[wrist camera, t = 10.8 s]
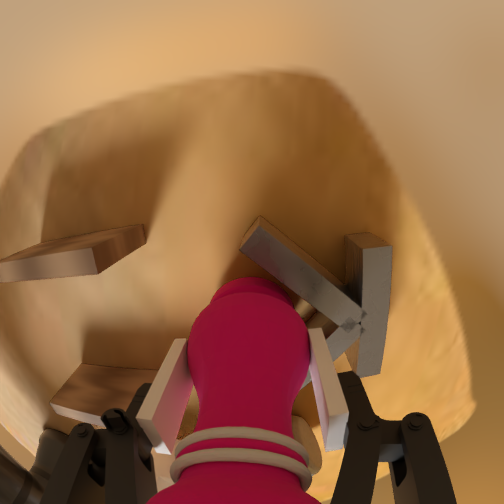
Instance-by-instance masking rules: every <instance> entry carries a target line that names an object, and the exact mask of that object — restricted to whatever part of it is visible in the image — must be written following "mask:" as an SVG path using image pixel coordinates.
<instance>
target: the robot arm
mask: <svg viewBox="0 0 504 504" xmlns="http://www.w3.org/2000/svg"><path fill="white" fill-rule="evenodd" d="M308 337H309V342H310V365H309V369H310V374H311V379H312V384H313V389H314V394H315V399H316V404H317V409H318V414H319V419H320V425H321V430H322V435H323V441H324V446H325V452H327V451H333V450H339V449H342V448H343V444H344V448H345V453H344V457H343V461H342V465H341V469H340V472H339V476H338V480H337V483H336V487H335V490H334V493H333V497H332V500H331V503H330V504H371V500H372V495H373V489H374V485H375V479H376V473H377V467H378V462H388V463H389V469H390V475H391V481H392V487H393V493H394V499H395V504H457V503H456V498H455V495H454V491H453V487H452V484H451V480H450V477H449V474H448V470H447V467H446V464H445V461H444V458H443V455H442V452H441V449H440V446H439V443H438V440H437V437H436V435H435V432H434V429H433V427H432V424H431V421H430V419H429V418H428V416H426V415H425V414H423V413H419V412H414V413H410V414H407V415H406V416H405V417H404V418H403V420H400V421H389V420H384V419H381V418H380V417H379V416H377V415H375V413H374V412H373V409H372V407H371V404H370V402H369V399H368V397H367V394H366V392H365V389H364V387H363V385H362V382H361V380H360V377H359V376H358V375H357V374H356V373H355V372H353V371H348V372H343V373H336V370H335V367H334V364H333V361H332V358H331V355H330V352H329V349H328V346H327V343H326V340H325V337H324V334H323V331H322V328H313V329H308ZM187 347H188V341H187V338H180V339H174V341H173V343H172V345H171V347H170V349H169V351H168V353H167V355H166V357H165V359H164V361H163V363H162V365H161V367H160V369H159V371H158V373H157V375H156V377H155V379H154V381H153V383H144V384H143V385H141V386H140V387H139V388H138V389H137V391H136V393H135V396H134V397H133V399H132V402H131V403H130V404H129V406H128V408H127V410H126V412H125V411H124V410H123V409H120V408H112V409H109V410H107V411H105V412H104V413H103V414H102V416H101V418H100V419H101V421H102V422H103V424H104V425H105V427H106V428H107V429H94V427H93V426H92V425H91V424H89V423H80V424H78V425H76V426H75V427H74V428H73V429H72V431H71V433H70V435H69V436H67V435H65V434H63V433H61V432H59V431H56V430H53V429H45V430H44V432H43V433H42V434H41V436H40V438H39V446H38V449H37V453H36V459H35V462H34V465H33V466H32V468H31V470H30V471H27V470H26V469H25V468H24V467H23V466H22V465H21V464H20V463H18V462H17V461H16V460H15V459H14V458H13V457H12V456H11V455H10V454H9V453H8V452H7V451H6V450H5V449H4V448H3V447H2V446H1V445H0V504H146V503H147V502H148V500H149V499H150V498H152V497H153V496H154V495H156V494H157V493H158V491H157V484H156V476H155V468H154V459H153V456H152V454H151V450H152V448H154V449H155V451H156V452H157V453H162V454H169V455H171V454H172V451H173V448H174V445H175V441H176V438H177V435H178V432H179V428H180V425H181V422H182V419H183V416H184V412H185V409H186V406H187V403H188V400H189V396H190V393H191V390H192V387H193V384H194V383H193V380H192V378H191V374H190V371H189V367H188V358H187Z"/></svg>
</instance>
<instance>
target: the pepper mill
mask: <svg viewBox="0 0 504 504" xmlns="http://www.w3.org/2000/svg"><path fill="white" fill-rule="evenodd" d="M187 358H188V367H189V371H190V374H191V378H192V380H193V383H194V386H195V389H196V391H197V395H198V398H199V414H198V420H197V424H196V426H195V429H194V431H193V433H192V434H190V435H188V436H186V437H185V438H183V439H182V440H181V441H180V442H179V443H178V445H177V447H176V449H175V461H174V462H173V463H172V465H171V466H170V477H171V479H172V481H173V482H174V483H175V484H173V485H171V486H169V487H167V488H165V489H163V490H161V491H159V492H158V493H157V494H156V495H154V496H153V497H152V498H150V499H149V500H148V502H147V503H146V504H321V503H320V502H319V501H318V500H316V499H315V498H314V497H312V496H310V495H309V494H307V493H306V491H307V490H308V488H309V487H310V485H311V482H312V475H311V472H310V471H309V469H308V465H309V454H308V452H307V451H306V449H305V448H304V447H303V446H302V445H301V444H300V443H299V442H297V441H295V440H294V436H293V432H292V419H291V411H292V406H293V402H294V400H295V398H296V396H297V394H298V392H299V391H300V389H301V387H302V385H303V383H304V381H305V379H306V377H307V373H308V369H309V365H310V342H309V337H308V330H307V327H306V325H305V323H304V321H303V320H302V318H301V317H300V315H299V314H298V313H297V312H296V311H295V310H294V306H293V303H292V301H291V299H290V297H289V296H288V294H287V293H286V292H285V291H284V290H283V289H282V288H281V287H280V286H278V285H277V284H275V283H274V282H272V281H269V280H267V279H263V278H258V277H244V278H238V279H235V280H233V281H230V282H228V283H226V284H225V285H223V286H222V287H221V288H220V289H219V290H218V291H217V292H216V293H215V295H214V296H213V298H212V300H211V302H210V304H209V305H208V306H207V307H206V308H205V309H204V310H203V311H202V312H201V313H200V314H199V316H198V317H197V318H196V320H195V322H194V324H193V326H192V329H191V332H190V336H189V340H188V347H187Z"/></svg>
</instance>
